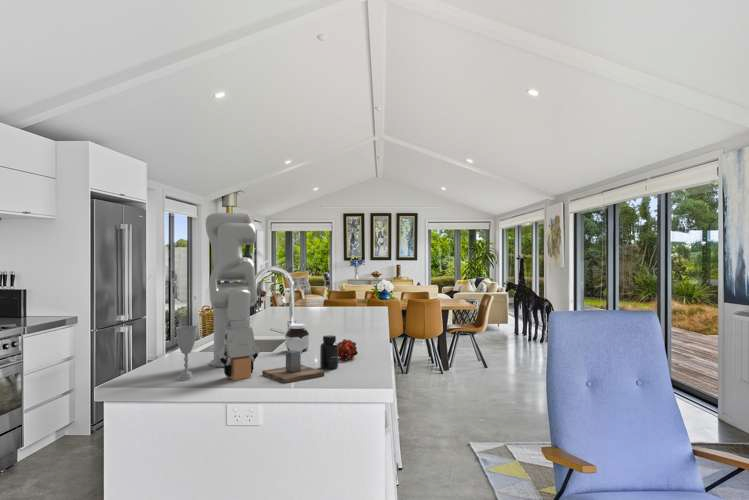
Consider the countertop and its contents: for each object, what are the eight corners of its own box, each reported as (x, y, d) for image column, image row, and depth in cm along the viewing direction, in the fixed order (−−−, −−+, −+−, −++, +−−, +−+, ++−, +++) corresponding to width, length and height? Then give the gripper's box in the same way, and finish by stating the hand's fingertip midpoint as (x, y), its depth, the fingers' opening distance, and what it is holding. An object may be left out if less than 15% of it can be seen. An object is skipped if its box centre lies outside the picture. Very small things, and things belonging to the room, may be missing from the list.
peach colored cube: (227, 377, 187) (226, 357, 187) (243, 374, 191) (243, 354, 191) (234, 380, 183) (234, 359, 183) (251, 377, 187) (251, 357, 187)
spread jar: (302, 348, 243) (302, 322, 243) (316, 351, 234) (316, 325, 234) (279, 351, 235) (279, 325, 235) (292, 355, 227) (292, 328, 227)
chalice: (190, 375, 190) (190, 325, 190) (201, 378, 186) (200, 326, 186) (171, 379, 184) (171, 327, 185) (182, 382, 180) (181, 329, 180)
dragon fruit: (348, 359, 225) (348, 369, 213) (332, 348, 224) (331, 357, 212) (360, 343, 224) (360, 353, 213) (344, 332, 223) (343, 341, 212)
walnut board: (262, 374, 191) (262, 370, 191) (300, 368, 201) (300, 364, 201) (284, 383, 178) (284, 378, 178) (324, 375, 188) (324, 371, 188)
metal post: (285, 371, 190) (285, 351, 190) (295, 369, 192) (294, 350, 192) (291, 372, 187) (291, 353, 187) (300, 371, 189) (300, 351, 189)
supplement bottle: (335, 370, 198) (335, 337, 198) (317, 369, 199) (317, 337, 199) (340, 366, 205) (340, 335, 205) (323, 365, 206) (323, 334, 206)
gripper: (219, 327, 179) (219, 380, 179) (266, 323, 190) (266, 372, 190) (210, 325, 184) (210, 376, 184) (256, 321, 195) (256, 369, 195)
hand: (239, 374), depth 187 cm, fingers open, 7 cm apart
